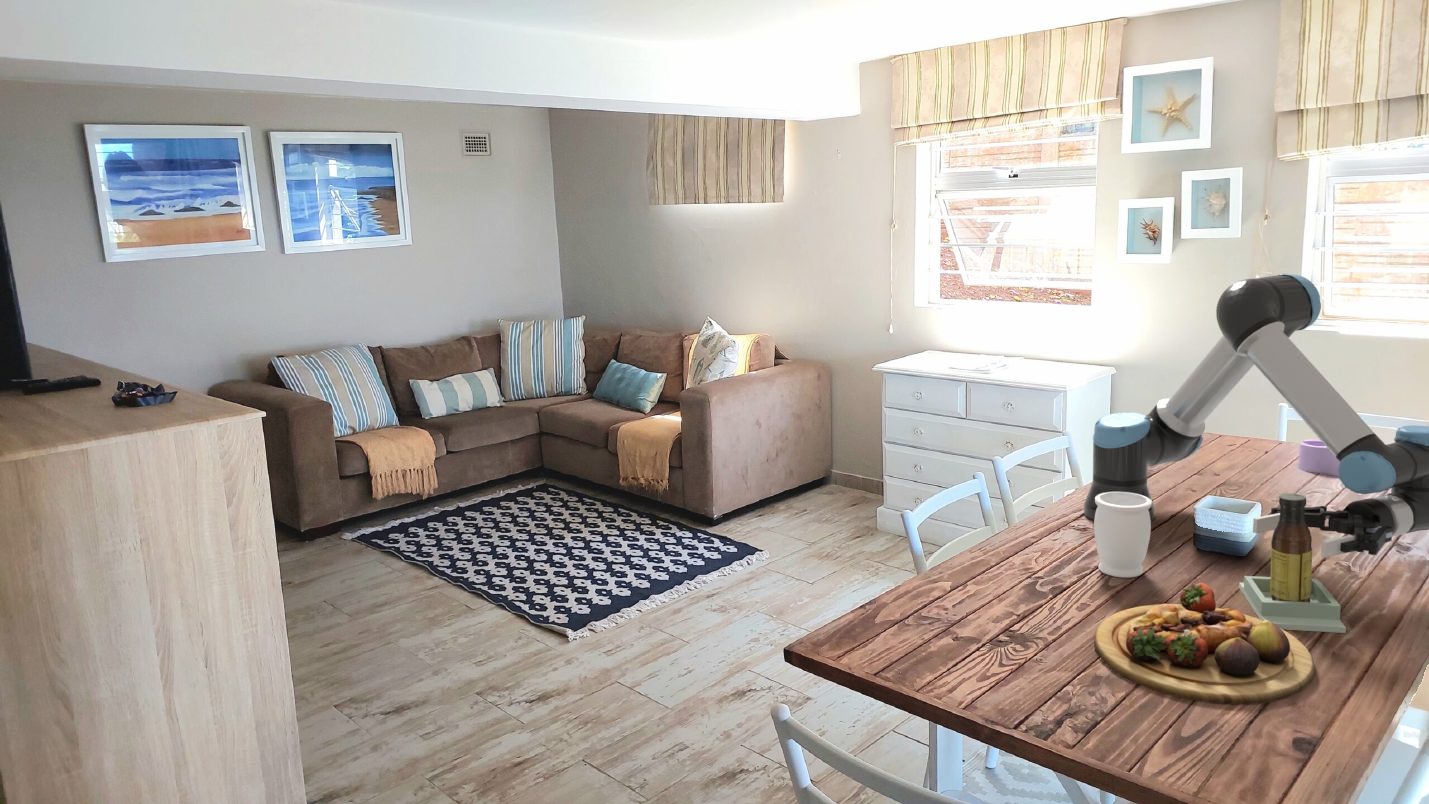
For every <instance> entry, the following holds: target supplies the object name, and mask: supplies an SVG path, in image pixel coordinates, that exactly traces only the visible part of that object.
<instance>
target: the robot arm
mask: <svg viewBox="0 0 1429 804" xmlns="http://www.w3.org/2000/svg"><path fill="white" fill-rule="evenodd" d="M1321 307H1322V303H1321V295H1320V292H1319V291H1318V288H1317V287H1316V286H1315V284H1314V283H1313V282H1312V281H1311V280H1309V279H1308V278H1307V277H1304V276H1302V275H1299V274H1288V273H1281V274H1276V275H1269V276H1263V277H1256V278H1245V279H1242V280H1237V282H1234V283H1232V284H1231V285H1229V286H1228V287H1227V288H1226V289H1225V290H1224V291H1223V293H1221V295H1220V296H1219V299H1218V301H1217V304H1216V309H1215V310H1216V311H1215V314H1216V315H1215V316H1216V320H1217V324H1218V326H1219V329H1220V331H1221V333H1222V336H1221V337H1220V339H1218V341H1217V342H1216V343H1215V344H1214V346H1213V347H1211V349H1210V351H1208V353H1207V354H1206V356H1204V357H1203V359H1202V360H1201V362H1200V363H1199V364H1198V365H1197V366H1196V368H1195V369H1194V370H1193V371H1192V372H1191V374H1190V375H1188V377H1187V378H1186V379H1185V380H1184V382H1183V383H1182V385H1180V387H1179V388H1178V389H1177V390H1176V392H1175V393H1174V394H1173V395H1172V396H1171V397H1166V398H1161V399H1160V400H1159V401H1158V402H1157V404H1156V405H1155V406H1154V407H1153V408H1152V410H1151V411H1150V412H1149V413H1148V414H1147V415H1145V414H1142V413H1139V412H1127V411H1126V412H1125V411H1123V412H1121V413H1119V412H1115V413H1111V414H1110V413H1109V414H1106V415H1105V416H1104V415H1103V416H1102V417H1100V418H1099V419H1098V420H1097V421H1096V423H1095V425H1094V431H1093V436H1092V440H1093V451H1092V454H1093V455H1092V482H1091V486H1090V488H1089V489H1088V490H1089V491H1088V493H1087V496H1086V498H1085V500H1084V501H1085V502H1084V504H1083V513H1084V515H1085V516H1086V517H1087V518H1089V519H1091V520H1092V521H1094V519H1095V513H1096V509H1097V507H1098V505H1097V504H1096V503H1095V497H1096V496H1097V495H1099V494H1101V493H1106V492H1129V493H1135V494H1140V495H1143V496H1146V497H1148V498H1149V499H1151V501H1152V502H1151V503H1152V504H1151V507H1150V508H1149V509H1148V511H1149V514H1150V521H1151V522H1152V521H1153V520H1154V519H1155V506H1154V502H1153V499H1152V495H1151V493H1150V490H1149V486H1148V472H1149V471H1148V468H1150V467H1154V466H1158V465H1164V464H1168V463H1174V462H1178V461H1179V462H1180V461H1182V460H1185V459H1186V458H1189V457H1191V456H1193V455H1194V454H1195V453H1196V452H1198V450H1199V449H1200V447H1201V446H1202V443H1203V440H1204V437H1203V434H1204V432H1205V431H1206V423H1205V421H1206V420H1207V419H1208V417H1209V416H1210V415H1211V414H1212V413H1213V412H1214V410H1215V409H1217V407H1218V406H1219V405H1220V404H1221V403H1222V402H1223V400H1225V398H1226V397H1228V395H1229V393H1230V392H1231V391H1232V390H1233V389H1234V388H1235V387H1236V386H1237V384H1238V383H1239V382H1240V381H1241V380H1242V379H1243V378H1244V376H1245V375H1246V374H1247V373H1248V372H1249V371H1250V370H1251V369H1252V368H1253V367H1254V366H1255V367H1256V368H1257V369H1258V370H1259V371H1260V372H1261V373H1262V375H1263V376H1264V377H1265V378H1266V379H1267V380H1268V381H1269V382H1270V384H1271V386H1273V387H1274V388H1275V389H1276V391H1277V392H1278V393H1279V394H1280V395H1281V396H1282V398H1284V400H1285V402H1287V404H1289V406H1290V407H1291V408H1292V409H1293V410H1294V411H1295V412H1296V414H1297V415H1298V416H1299V417H1300V418H1301V419H1302V421H1304V423H1305V424H1306V425H1307V426H1308V428H1309V429H1310V430H1312V433H1314V434H1315V435H1316V437H1317V438H1318V440H1321V441H1322V442H1323V443H1324V445H1325V446H1326V447H1327V448H1328V449H1329V450H1330V451H1331V453H1332V454H1333V455H1334V456H1335V457H1336V458H1337V459H1338V461H1339V462H1340V464H1339V467H1338V473H1339V477H1338V478H1339V480H1340V482H1341V484H1342V485H1343V486H1344V487H1345V488H1346V489H1348V490H1349V491H1351V492H1353V493H1355V494H1358V495H1368V494H1376V493H1382V492H1385V491H1389V490H1390V489H1391V490H1390V492H1387V493H1386V494H1385V495H1380V496H1376V497H1375V496H1374V497H1371V498H1364V499H1360V500H1359V499H1358V500H1354V501H1351V502H1350V503H1348V504H1347V506H1345V507H1344V508H1343V510H1341V509H1337V510H1335V511H1331V510H1327V509H1328V507H1327V506H1325V505H1320V506H1313V507H1312V506H1311V507H1310V506H1308V507H1306V506H1305V512H1304V513H1305V514H1304V517H1305V523H1306V525H1307V527H1308V528H1316V529H1319V530H1320V531H1322V532H1324V531H1325V532H1336V533H1337V534H1338V533H1339V534H1344V535H1345V536H1344V535H1343V536H1340V537H1336V538H1335V537H1334V538H1330V539H1327V540H1326V539H1324V540H1321V541H1322V543H1321V551H1320V552H1321V553H1320V554H1321V555H1320V557H1322V558H1325V559H1326V558H1330V557H1334V556H1335V557H1336V556H1338V555H1343V554H1344V555H1345V554H1348V553H1353V552H1358V553H1364V551H1365V552H1367V554H1368V555H1370V556H1377V555H1378V553H1379V552H1380V551H1381V550H1382V548H1383V546H1385V544H1386V543H1389V542H1392V541H1393V540H1392V539H1393V537H1398V536H1401V535H1405V534H1410V533H1411V534H1412V533H1414V532H1415V533H1416V532H1420V531H1428V530H1429V426H1428V425H1418V424H1415V425H1413V424H1412V425H1410V424H1409V425H1403V426H1400V427H1398V428H1397V430H1396V432H1395V437H1394V438H1393V441H1394V442H1393V443H1388V444H1386V443H1385V442H1384V441H1383V440H1382V439H1381V438H1380V437H1379V436H1378V435H1377V434H1376V433H1375V432H1374V431H1373V430H1372V428H1371V427H1370V426H1369V425H1368V424H1367V423H1366V422H1365V421H1364V420H1363V418H1361V416H1360V415H1359V414H1358V413H1357V412H1356V411H1355V410H1354V408H1353V407H1352V406H1351V405H1350V404H1349V403H1348V402H1347V401H1346V400H1345V399H1344V397H1343V396H1342V395H1341V394H1340V393H1339V392H1338V390H1337V389H1335V388H1334V386H1333V385H1332V384H1331V383H1330V382H1329V381H1328V380H1327V379H1326V378H1325V376H1324V375H1323V374H1322V373H1321V372H1320V371H1319V370H1318V369H1317V368H1316V366H1315V365H1314V364H1313V363H1312V362H1311V361H1310V360H1309V359H1308V357H1307V356H1306V355H1305V354H1304V353H1303V352H1302V351H1301V350H1300V348H1299V347H1297V345H1296V344H1295V343H1294V342H1293V341H1292V340H1291V339H1290V337H1291V336H1292V335H1293V334H1294V333H1295V332H1296V331H1302V330H1305V329H1307V328H1308V327H1310V326H1312V325H1313V324H1314V323H1315V322H1316V321H1317V320H1318V318H1319V316H1320V313H1321V310H1322V308H1321ZM1270 511H1271V512H1270V514H1269V515H1268V514H1267V515H1263V516H1262V515H1261V516H1259V517H1254V518H1253V521H1252V522H1253V524H1252V525H1253V526H1252V533H1254V534H1260V533H1265V532H1271V531H1274V530H1275V529H1276V527H1277V524H1278V522H1279V516H1280V507H1271V509H1270ZM1326 520H1328V523H1327V525H1326Z"/></svg>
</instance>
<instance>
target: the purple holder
mask: <svg viewBox="0 0 1429 804" xmlns="http://www.w3.org/2000/svg"><path fill="white" fill-rule="evenodd" d="M1298 449H1299V450H1298V465H1297V469H1298V470H1301V471H1302V472H1307V473H1314V474H1315V473H1316V474H1327V475H1331V476H1334V477H1336V478H1340V477H1339V473H1338V467H1339V464H1340V462H1339V461H1338V459H1337V458H1336V457H1335V456H1334V455H1333V454H1332V453H1331V451H1330V450H1329V449H1328V448H1327V447H1326V446H1325V445H1324V443H1323V442H1322V441H1321V440H1320V439H1303V441H1302V442H1300V443H1299V448H1298Z"/></svg>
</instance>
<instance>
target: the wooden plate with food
mask: <svg viewBox="0 0 1429 804" xmlns="http://www.w3.org/2000/svg"><path fill="white" fill-rule="evenodd" d="M1179 599H1180V603H1162V604H1161V603H1160V604H1159V603H1158V604H1148V605H1140V606H1136V607H1131V608H1130V607H1129V608H1127V609H1124V610H1121V611H1118V612H1116V613H1113V614H1111V615H1109V616H1108V617H1106V618H1105V619H1104V620H1103V621H1101V623H1100V624H1099V625H1098V627H1097V628H1096V630H1095V633H1094V637H1093V644H1094V647H1095V650H1096V653H1097V654H1098V656H1099V657H1100V659H1101V660H1102V661H1103V662H1104V664H1106V665H1107V666H1108V667H1109V668H1110V669H1112V670H1113V671H1115V672H1116V673H1118V674H1119V675H1120V676H1122V677H1124V678H1125V679H1128V680H1129V681H1132V682H1134V683H1136V684H1138V685H1140V686H1143V687H1145V688H1148V689H1151V690H1152V691H1156V692H1159V693H1162V694H1165V695H1170V696H1173V697H1177V698H1181V699H1187V700H1191V701H1197V702H1203V703H1210V704H1219V705H1220V704H1222V705H1257V704H1267V703H1273V702H1278V701H1281V700H1284V699H1288V698H1290V697H1293V696H1294V695H1297V694H1298V693H1300V692H1301V691H1302V690H1304V689H1305V688H1306V687H1307V686H1308V685H1309V684H1310V683H1311V682H1312V679H1313V677H1314V675H1315V663H1314V658H1313V657H1312V655H1311V652H1310V650H1308V648H1307V647H1306V646H1305V645H1304V644H1303V643H1302V642H1301V641H1300V640H1298V638H1296V637H1294V635H1292V634H1291V633H1289V632H1287V631H1286V630H1284V629H1281V628H1279V627H1278V626H1277V625H1275V624H1274V623H1272V622H1270V621H1268V620H1265V621H1263V620H1260V619H1259V618H1257V617H1254V616H1252V615H1247V614H1245V613H1242V612H1241V611H1240V610H1237V609H1233V610H1232V609H1231V608H1229V607H1228V608H1219V607H1216V606H1217V605H1216V600H1215V594H1214V590H1213V589H1212V588H1211V587H1210V586H1209V585H1207V583H1202V582H1200V583H1195V584H1193V583H1192V584H1191V587H1190V588H1187V587H1183V589H1182V592H1181V593H1180V595H1179Z"/></svg>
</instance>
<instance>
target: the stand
mask: <svg viewBox="0 0 1429 804" xmlns="http://www.w3.org/2000/svg"><path fill="white" fill-rule="evenodd" d="M1238 583H1239V584H1238V587H1239V590H1240V591H1241V592H1242V593H1243V594H1242V595H1243V596H1244V598H1245V599H1246V600H1247V602H1248V603H1249V605H1250V606H1251V608H1252V610H1253V611H1254V613H1255V614H1256V616H1257V617H1258V619H1260V620H1263V621H1265V620H1268V621H1270V622H1272V623H1274V624H1275V625H1277V626H1278V627H1279V628H1281V629H1282V630H1284V631H1286V630H1287V631H1289V630H1290V631H1302V632H1303V631H1304V632H1318V633H1319V632H1320V633H1322V632H1324V633H1336V634H1337V633H1340V634H1341V633H1342V634H1346V633H1347V632H1346V631H1347V627H1346V626H1345V625H1344V623H1343V621H1341V610H1342V609H1341V608H1342V606H1341V604H1339V602H1338V601H1337V600H1336V598H1334V596H1333V595H1332V594H1331V593H1330V592H1329V591H1328V590H1327V588H1326V587H1325V586H1324V585H1323V584H1322V582H1321V581H1320V580H1319V579H1317V578H1311V597H1310V602H1293V601H1273V600H1272V597H1271V596H1272V594H1271V592H1270V586H1271V576H1257V575H1256V576H1253V575H1251V576H1250V575H1244V576H1243V582H1238Z"/></svg>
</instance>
